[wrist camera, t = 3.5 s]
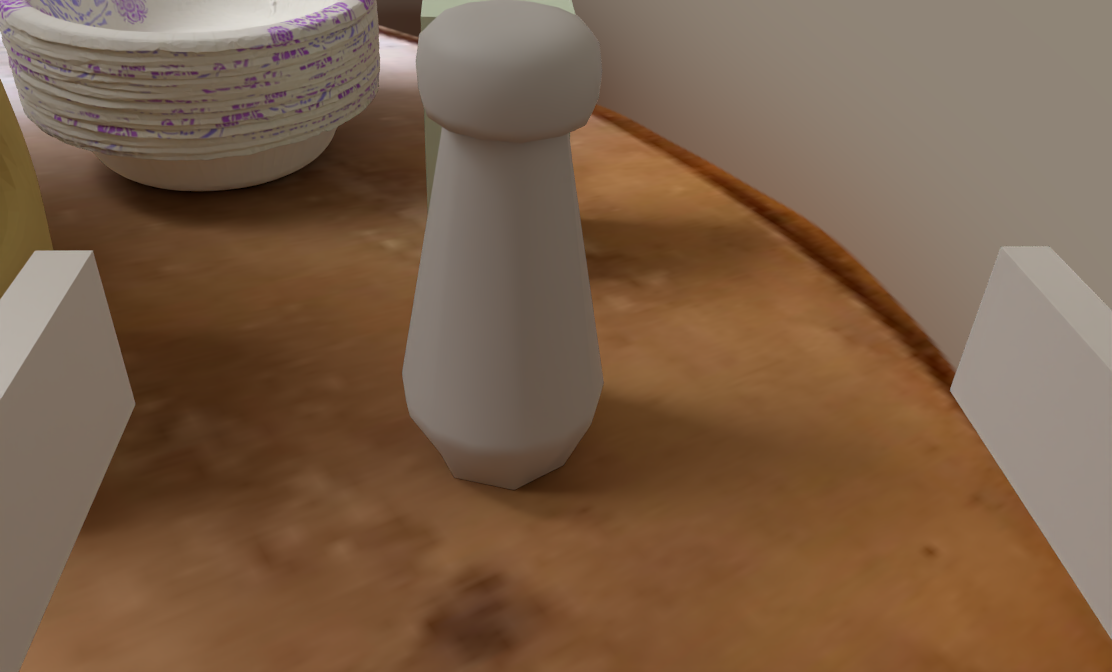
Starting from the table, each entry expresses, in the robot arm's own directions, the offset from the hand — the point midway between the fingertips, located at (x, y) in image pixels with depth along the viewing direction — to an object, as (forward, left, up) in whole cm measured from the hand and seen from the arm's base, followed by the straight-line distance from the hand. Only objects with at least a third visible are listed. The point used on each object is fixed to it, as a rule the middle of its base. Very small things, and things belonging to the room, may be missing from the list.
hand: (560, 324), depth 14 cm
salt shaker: (-8, +6, -12) cm, 16 cm away
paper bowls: (-32, +8, -12) cm, 35 cm away
